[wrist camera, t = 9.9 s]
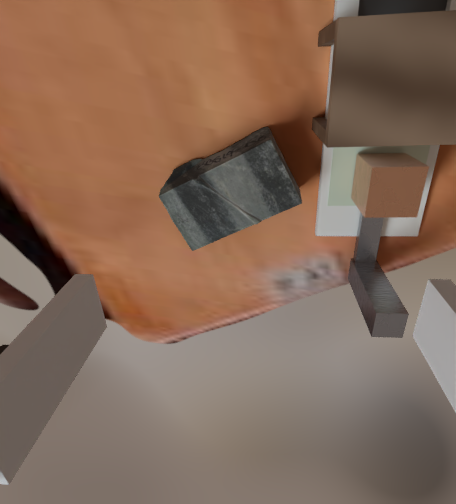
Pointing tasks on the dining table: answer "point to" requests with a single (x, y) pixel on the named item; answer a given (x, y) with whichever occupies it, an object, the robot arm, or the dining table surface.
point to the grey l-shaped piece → (369, 231)
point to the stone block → (230, 190)
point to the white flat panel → (344, 158)
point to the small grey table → (391, 80)
